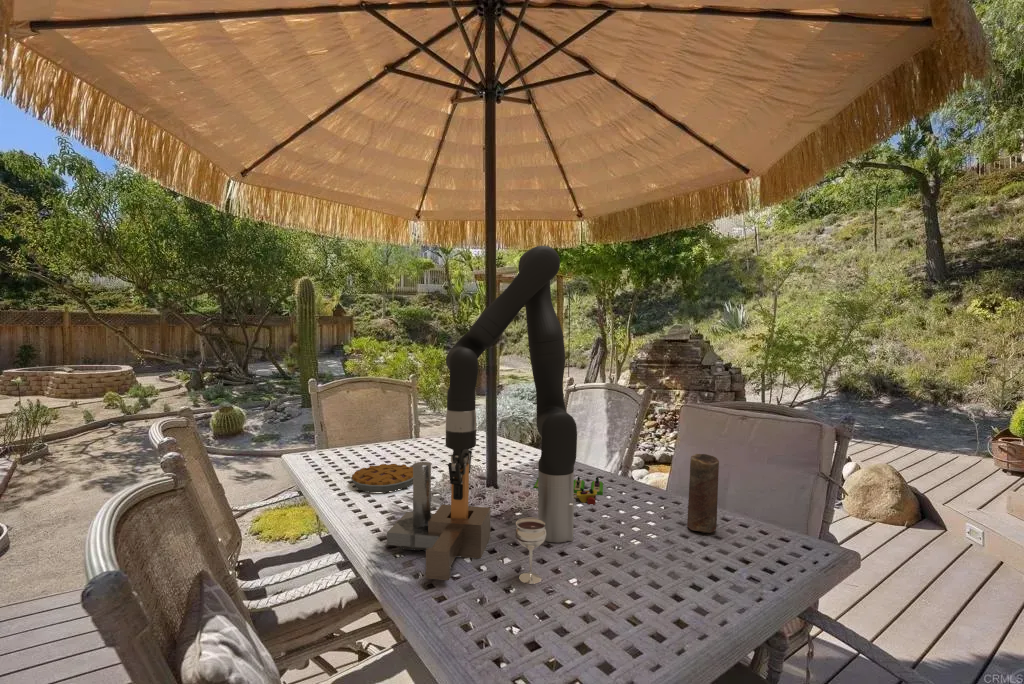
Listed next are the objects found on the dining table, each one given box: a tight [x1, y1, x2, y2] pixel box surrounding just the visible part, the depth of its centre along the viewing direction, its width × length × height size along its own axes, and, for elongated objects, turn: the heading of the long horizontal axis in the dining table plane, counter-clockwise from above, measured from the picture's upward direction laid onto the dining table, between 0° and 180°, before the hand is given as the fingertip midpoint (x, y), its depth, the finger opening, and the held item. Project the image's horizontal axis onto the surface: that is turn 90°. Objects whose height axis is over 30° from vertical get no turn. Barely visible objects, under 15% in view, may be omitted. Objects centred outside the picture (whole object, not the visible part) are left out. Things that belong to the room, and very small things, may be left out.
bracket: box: [425, 504, 492, 581], centre depth 112 cm, size 13×24×8 cm, turn 171°
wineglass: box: [515, 516, 546, 585], centre depth 104 cm, size 7×7×12 cm
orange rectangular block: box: [450, 464, 470, 519], centre depth 119 cm, size 4×4×14 cm
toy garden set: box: [532, 475, 604, 506], centre depth 158 cm, size 23×19×5 cm
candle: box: [686, 453, 720, 534], centre depth 129 cm, size 8×7×20 cm
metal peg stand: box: [386, 461, 440, 551], centre depth 120 cm, size 14×14×20 cm
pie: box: [350, 463, 413, 493], centre depth 165 cm, size 22×22×5 cm
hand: (460, 496), depth 119 cm, fingers closed on orange rectangular block, 3 cm apart
